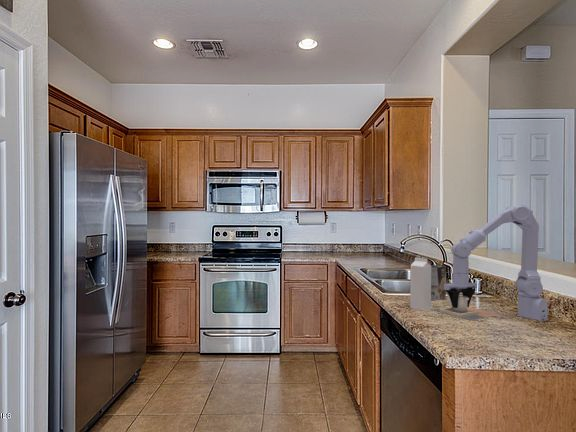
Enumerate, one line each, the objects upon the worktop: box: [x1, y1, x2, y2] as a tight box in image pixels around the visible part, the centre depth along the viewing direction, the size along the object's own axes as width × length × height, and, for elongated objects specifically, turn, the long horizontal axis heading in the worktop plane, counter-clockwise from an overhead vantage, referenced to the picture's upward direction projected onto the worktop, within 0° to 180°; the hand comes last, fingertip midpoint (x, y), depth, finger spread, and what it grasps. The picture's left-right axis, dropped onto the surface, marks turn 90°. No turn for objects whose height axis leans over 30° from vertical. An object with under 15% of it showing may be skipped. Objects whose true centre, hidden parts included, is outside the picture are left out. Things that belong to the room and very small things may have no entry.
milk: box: [409, 257, 432, 312], centre depth 163 cm, size 6×6×22 cm
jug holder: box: [432, 306, 502, 321], centre depth 156 cm, size 18×19×2 cm
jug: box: [446, 293, 469, 313], centre depth 156 cm, size 10×5×6 cm, turn 18°
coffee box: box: [430, 264, 447, 302], centre depth 184 cm, size 9×6×16 cm
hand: (460, 307), depth 155 cm, fingers closed on jug, 5 cm apart
